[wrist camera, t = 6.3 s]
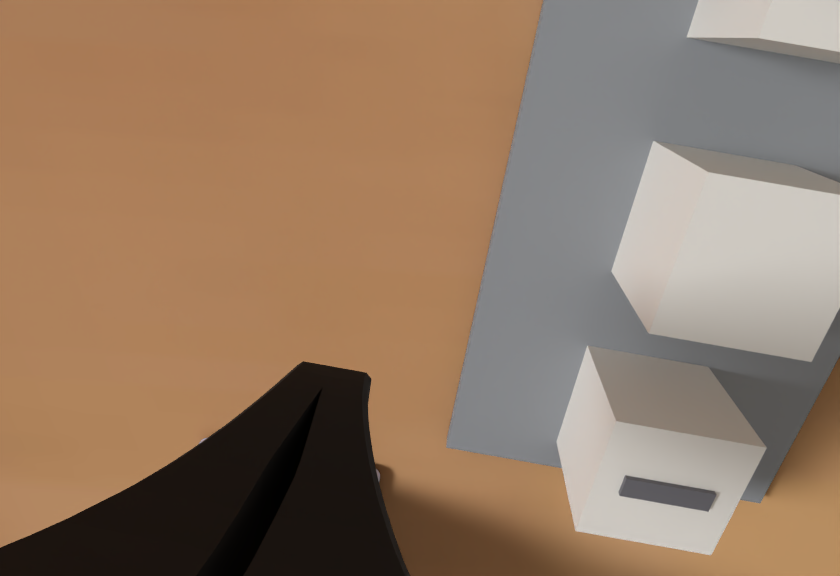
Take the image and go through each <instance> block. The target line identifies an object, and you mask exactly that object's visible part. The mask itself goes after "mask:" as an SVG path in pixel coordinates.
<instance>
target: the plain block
mask: <svg viewBox="0 0 840 576" xmlns="http://www.w3.org/2000/svg"><path fill="white" fill-rule="evenodd" d="M611 272H612V273H613V275H614V277H615V278H616V280H617V282H618V283H619V285H620V287H621V288H622V290H623V292H624V293H625V295H626V297H627V298H628V300H629V302H630V303H631V305H632V307H633V308H634V310H635V312H636V313H637V315H638V317H639V318H640V320H641V322H642V323H643V325H644V327H645V328H646V330H647V332H648V333H649V334H654V335H660V336H666V337H671V338H677V339H683V340H689V341H694V342H700V343H706V344H711V345H717V346H723V347H728V348H734V349H740V350H746V351H751V352H757V353H763V354H768V355H774V356H780V357H785V358H791V359H797V360H803V361H808V362H812V360H813V358H814V356H815V354H816V352H817V350H818V348H819V347H820V345H821V343H822V341H823V339H824V337H825V335H826V333H827V331H828V329H829V327H830V325H831V323H832V321H833V320H834V318H835V316H836V314H837V312H838V310H839V308H840V183H839V182H836V181H834V180H831V179H829V178H826V177H824V176H821V175H819V174H816V173H814V172H811V171H809V170H806V169H804V168H801V167H799V166H796V165H791V164H785V163H779V162H774V161H768V160H762V159H756V158H750V157H745V156H739V155H733V154H727V153H721V152H716V151H710V150H704V149H698V148H692V147H687V146H681V145H675V144H669V143H663V142H658V141H653V143H652V146H651V149H650V153H649V156H648V159H647V162H646V165H645V168H644V171H643V174H642V177H641V180H640V184H639V187H638V190H637V193H636V196H635V199H634V202H633V205H632V208H631V212H630V215H629V218H628V221H627V224H626V227H625V230H624V233H623V236H622V239H621V243H620V246H619V249H618V252H617V255H616V258H615V261H614V264H613V267H612V271H611Z"/></svg>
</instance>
